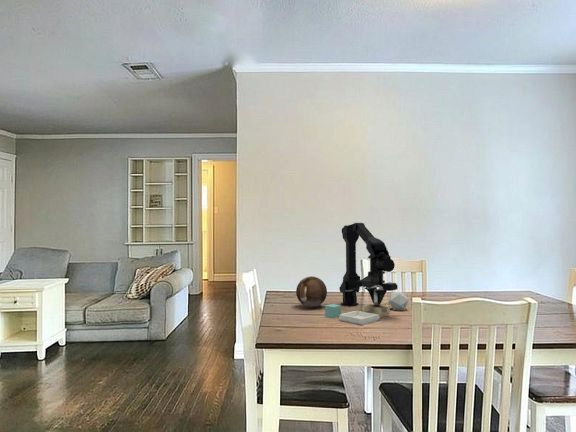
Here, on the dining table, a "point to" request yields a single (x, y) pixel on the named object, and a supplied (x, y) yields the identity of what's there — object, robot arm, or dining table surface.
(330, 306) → the block
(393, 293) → the die
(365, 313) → the tray
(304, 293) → the wooden sphere
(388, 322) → the dining table surface
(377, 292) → the rod
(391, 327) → the dining table surface
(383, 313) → the hollow square frame
